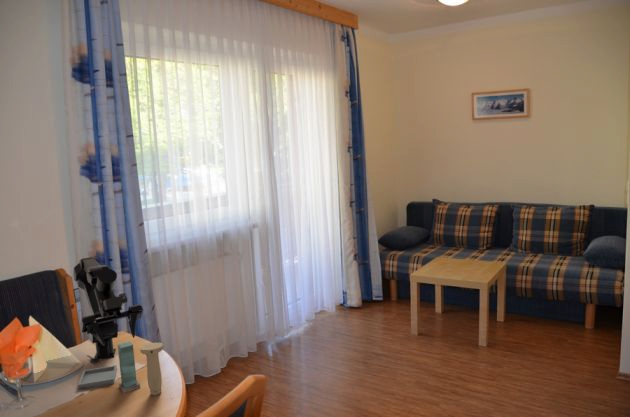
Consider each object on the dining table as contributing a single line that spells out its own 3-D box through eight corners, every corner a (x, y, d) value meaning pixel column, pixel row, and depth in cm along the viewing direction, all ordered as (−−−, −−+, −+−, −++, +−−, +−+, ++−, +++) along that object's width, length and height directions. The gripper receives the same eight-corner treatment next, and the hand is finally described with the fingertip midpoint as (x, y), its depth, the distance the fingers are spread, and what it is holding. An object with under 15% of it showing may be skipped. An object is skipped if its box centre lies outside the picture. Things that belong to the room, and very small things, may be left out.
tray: (84, 374, 166) (83, 370, 166) (117, 369, 169) (116, 365, 169) (78, 389, 156) (78, 384, 156) (114, 383, 159) (113, 379, 159)
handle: (167, 395, 151) (162, 347, 149) (144, 399, 149) (139, 351, 147) (166, 387, 155) (162, 341, 153) (145, 391, 154) (140, 344, 151)
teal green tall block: (119, 386, 157) (114, 344, 155) (135, 381, 160) (131, 339, 158) (123, 392, 153) (119, 349, 151) (140, 387, 156) (135, 344, 154)
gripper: (78, 293, 157) (90, 337, 149) (138, 280, 167) (152, 321, 160) (75, 310, 164) (87, 353, 157) (133, 297, 175) (147, 337, 168)
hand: (119, 341), depth 160 cm, fingers open, 9 cm apart
